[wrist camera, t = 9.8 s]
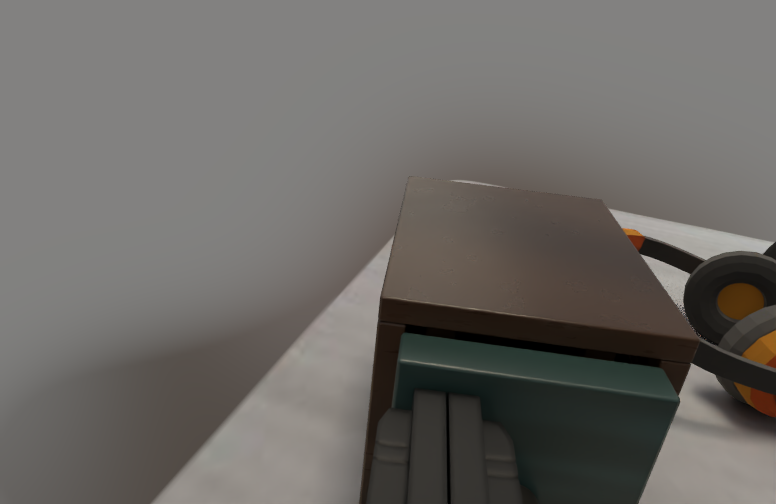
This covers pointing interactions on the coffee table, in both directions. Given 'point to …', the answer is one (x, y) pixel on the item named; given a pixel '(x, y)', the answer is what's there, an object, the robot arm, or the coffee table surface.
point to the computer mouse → (771, 251)
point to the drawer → (551, 409)
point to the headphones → (729, 316)
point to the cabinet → (520, 282)
